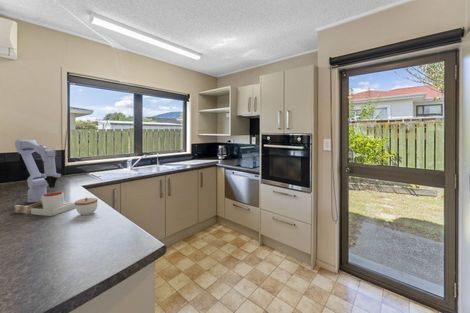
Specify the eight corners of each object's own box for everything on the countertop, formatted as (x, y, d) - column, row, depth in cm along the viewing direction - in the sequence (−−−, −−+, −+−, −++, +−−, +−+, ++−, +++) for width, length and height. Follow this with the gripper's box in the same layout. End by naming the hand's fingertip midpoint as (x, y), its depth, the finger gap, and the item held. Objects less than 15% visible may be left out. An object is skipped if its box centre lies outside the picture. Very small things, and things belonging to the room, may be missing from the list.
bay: (14, 212, 129) (13, 205, 128) (42, 204, 143) (41, 198, 143) (29, 213, 126) (28, 207, 126) (55, 205, 141) (55, 199, 140)
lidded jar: (83, 210, 131) (82, 195, 130) (102, 210, 131) (101, 194, 130) (71, 217, 120) (69, 200, 119) (91, 216, 121) (90, 200, 120)
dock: (31, 214, 126) (30, 208, 125) (57, 205, 140) (57, 201, 140) (51, 215, 122) (51, 210, 122) (76, 207, 137) (76, 202, 136)
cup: (47, 214, 124) (45, 197, 123) (40, 211, 130) (39, 195, 129) (68, 209, 133) (66, 193, 132) (60, 206, 138) (59, 191, 137)
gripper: (34, 168, 142) (37, 188, 143) (52, 168, 138) (54, 189, 140) (46, 166, 148) (48, 186, 150) (63, 166, 145) (65, 186, 146)
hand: (52, 187), depth 145 cm, fingers closed
